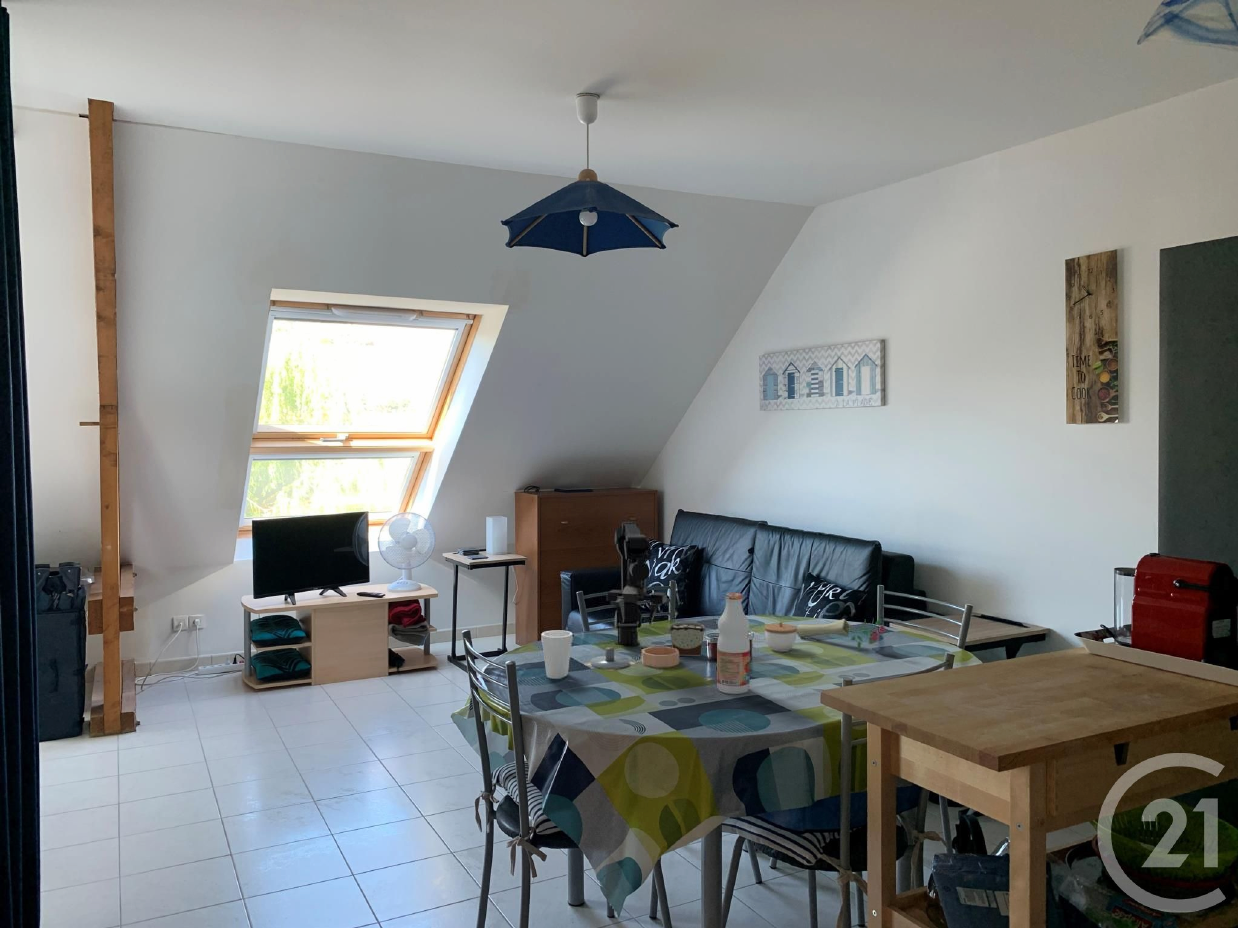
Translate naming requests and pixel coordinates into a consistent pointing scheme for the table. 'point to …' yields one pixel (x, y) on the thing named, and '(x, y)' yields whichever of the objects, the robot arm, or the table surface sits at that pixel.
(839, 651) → the table surface
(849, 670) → the table surface
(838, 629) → the flower vase
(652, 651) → the bowl
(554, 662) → the foam cup
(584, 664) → the mat
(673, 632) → the food container
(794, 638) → the lidded jar
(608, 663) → the lid
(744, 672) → the fruit juice
